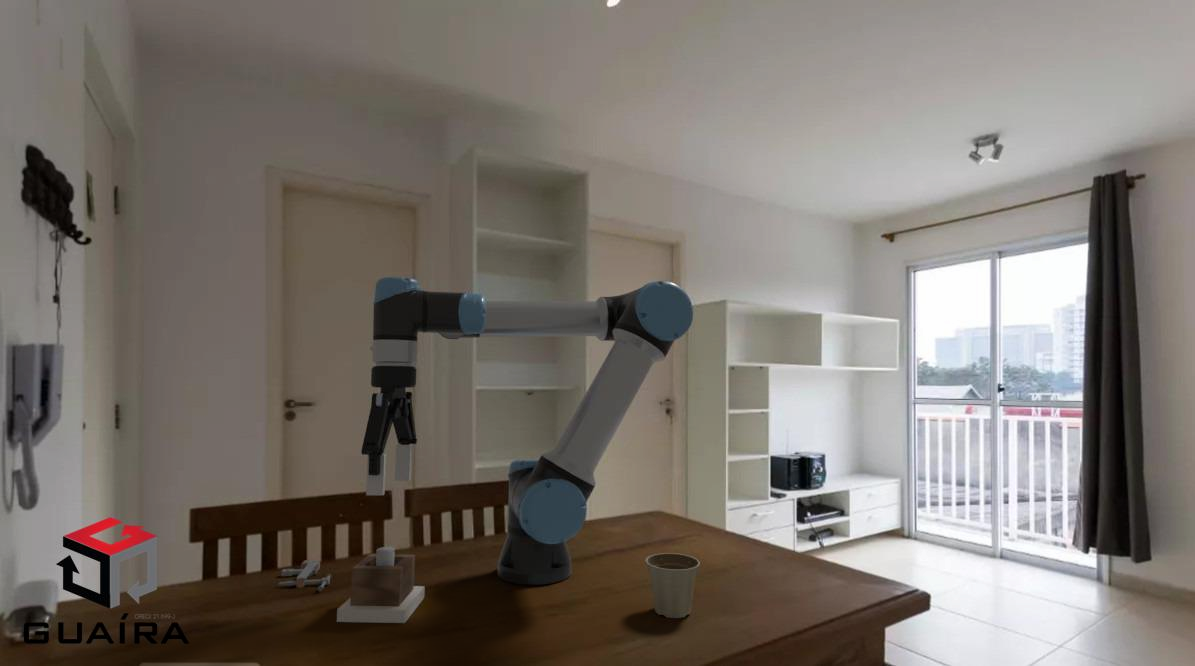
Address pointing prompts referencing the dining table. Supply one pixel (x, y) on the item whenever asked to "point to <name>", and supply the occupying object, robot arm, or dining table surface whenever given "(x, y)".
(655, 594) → the flower pot
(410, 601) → the post block
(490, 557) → the dining table surface
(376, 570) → the open brown box
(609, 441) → the robot arm
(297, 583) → the clamp
